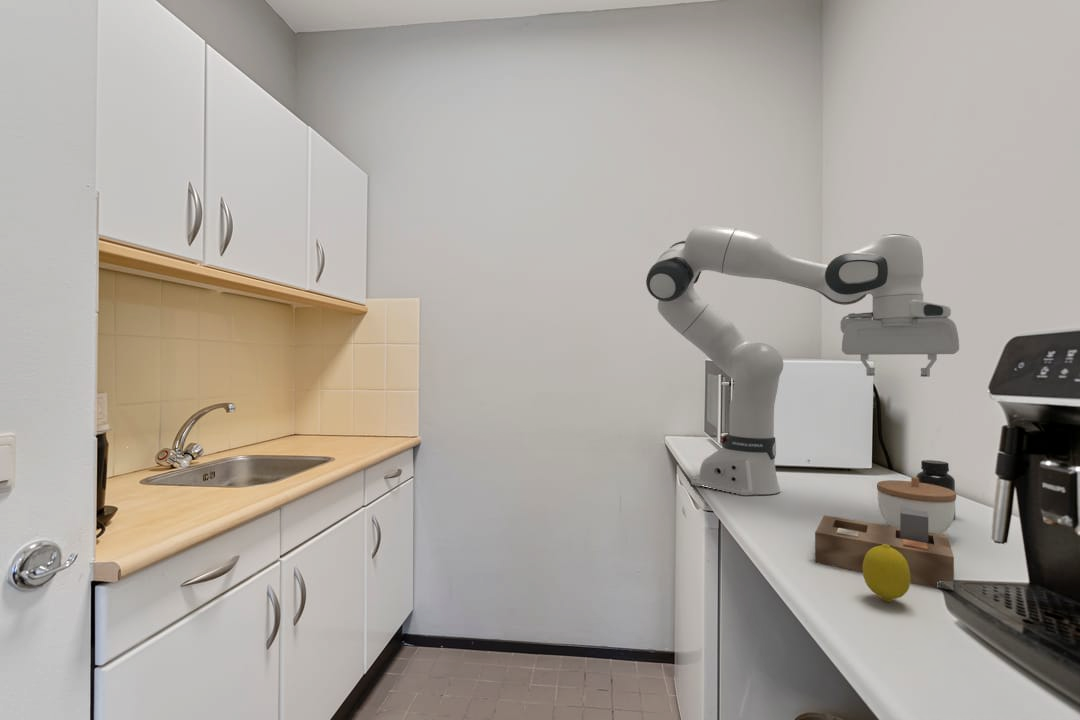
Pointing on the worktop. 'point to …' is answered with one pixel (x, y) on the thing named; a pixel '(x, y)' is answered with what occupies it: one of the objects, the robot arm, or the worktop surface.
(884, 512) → the lidded bowl
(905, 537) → the plug
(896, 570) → the lemon
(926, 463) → the supplement bottle
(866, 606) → the worktop surface
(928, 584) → the socket block
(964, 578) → the worktop surface
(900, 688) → the worktop surface
